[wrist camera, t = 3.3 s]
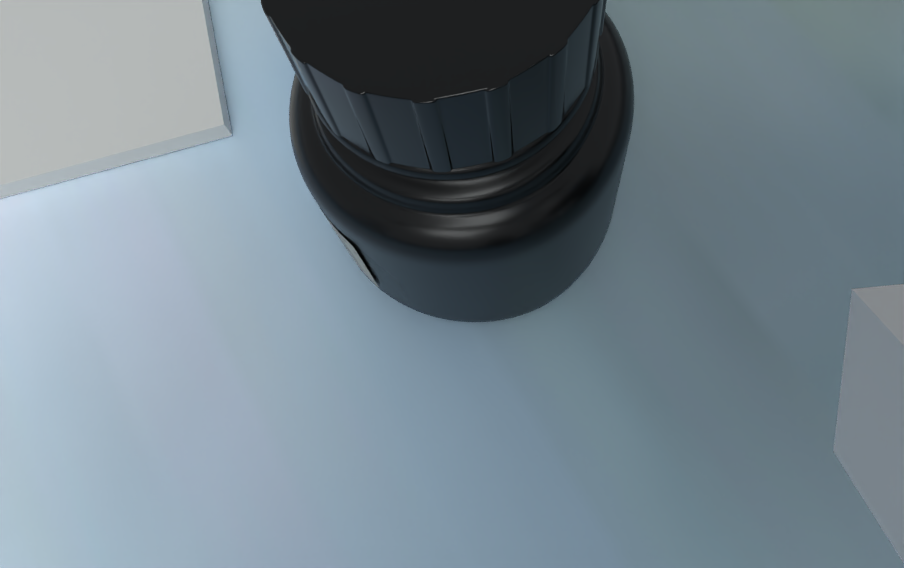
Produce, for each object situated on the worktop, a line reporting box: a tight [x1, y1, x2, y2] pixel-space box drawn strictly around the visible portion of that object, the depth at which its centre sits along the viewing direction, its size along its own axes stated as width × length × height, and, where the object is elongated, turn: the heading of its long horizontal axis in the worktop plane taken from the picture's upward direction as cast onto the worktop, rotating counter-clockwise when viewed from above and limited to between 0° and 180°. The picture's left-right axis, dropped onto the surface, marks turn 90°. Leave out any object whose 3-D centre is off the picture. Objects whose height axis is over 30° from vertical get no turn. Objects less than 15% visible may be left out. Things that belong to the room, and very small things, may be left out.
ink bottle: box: [261, 0, 634, 322], centre depth 21 cm, size 10×9×12 cm
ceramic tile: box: [0, 0, 232, 199], centre depth 30 cm, size 13×13×1 cm
